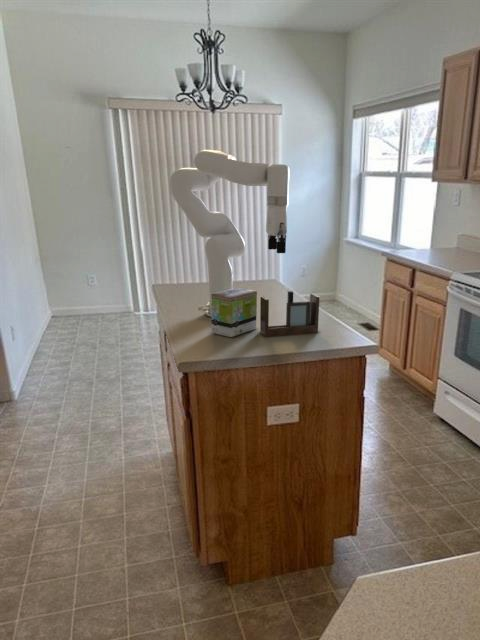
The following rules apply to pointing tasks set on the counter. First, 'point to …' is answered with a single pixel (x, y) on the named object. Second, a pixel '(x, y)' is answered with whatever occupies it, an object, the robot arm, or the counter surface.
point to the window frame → (283, 329)
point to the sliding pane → (297, 312)
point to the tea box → (234, 311)
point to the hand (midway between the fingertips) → (276, 251)
